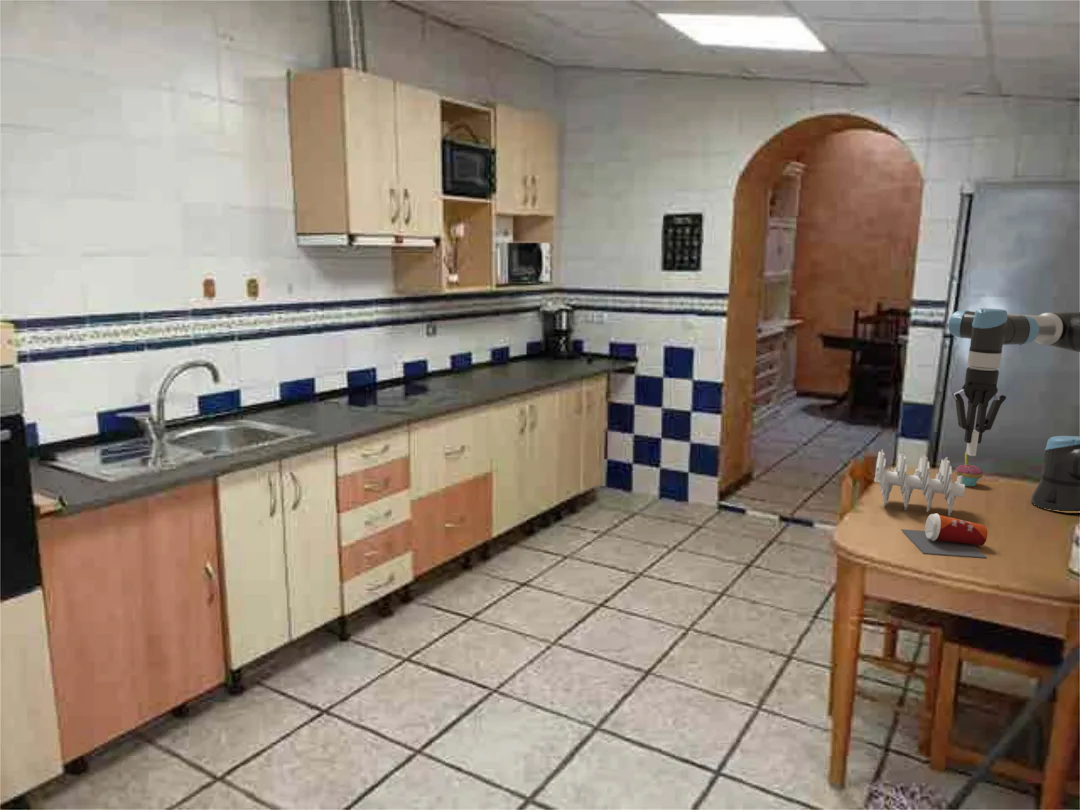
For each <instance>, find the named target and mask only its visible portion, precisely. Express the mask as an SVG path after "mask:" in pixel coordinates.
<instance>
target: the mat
mask: <svg viewBox="0 0 1080 810" xmlns="http://www.w3.org/2000/svg"><path fill="white" fill-rule="evenodd" d="M901 530H902V531H903V532H902V531H901ZM900 531H901V532H902V533H903V534H904V535H905V536H906V538H908V539H909V540H910V542H912V544H913V545H914V544H915V545H916V546H915V547H916V548H917V549H918V550H919V551H920V552H921V553H922V554H923V555H933V556H934V555H935V556H947V557H948V556H949V557H950V556H951V557H960V558H961V557H963V558H964V557H965V558H975V559H976V558H979V559H987V556H986V554H984V553H983V552H982V551H980V550H979V549H978V548H977V547H976V545H971V544H963V543H954V542H946V541H938V540H935V541H932V540H931V539H928V538H927V537H926V534H925V530H918V529H902V528H901V529H900Z"/></svg>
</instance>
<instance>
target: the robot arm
mask: <svg viewBox="0 0 1080 810" xmlns="http://www.w3.org/2000/svg"><path fill="white" fill-rule="evenodd" d="M947 327H948V331H949V333H950V335H951V336H953V337H957V338H961V339H970V345H969V349H968V350H969V351H968V357H967V366H968V367H967V368H966V371H965V376H964V377H965V378H964V384H963V386H962V389H961V390H959V391H953V392H952V394H951V395H952V396H953V399H954V401H955V407H956V416H957V424H958V427H959V428H961V429H963V430H965V431H964V438H963V439H964V442H965V443H966V450H965V451H966V454H967V456H970V457H976V456H977V449H978V444H981V443H982V438H983V433H985V432H986V431H990V430H992V427H993V425H994V422H995V420H996V417H997V415H998V413H999V411H1000V408H1001V405H1002V404H1003V403H1004V402H1005V401H1006V399H1007V396H1006V395H1004V394H1002V393H1000V392H999V389H998V387H997V386H998V383H999V382H998V380H999V374H1000V372H999V370H998V369H999V368H1000V366H1001V360H1002V355H1003V354H1002V353H1003V346H1005V345H1009V346H1011V345H1019V346H1022V345H1027V344H1030V343H1032V342H1035V343H1036V344H1039V345H1041V346H1050V347H1055V348H1058V349H1059V348H1060V349H1063V350H1068V351H1072V352H1079V353H1080V311H1069V312H1068V311H1066V312H1044V313H1041V314H1038V315H1037V314H1035V315H1034V314H1020V313H1008V312H1007V310H1005V309H1002V308H985V307H983V308H978V309H976V310H975V311H969V310H957V311H955V312H954V313H952V314H951V315H950V317H949V319H948V325H947ZM965 397H966V399H967V405H968V406H967V410H966V408H965V401H964V398H965ZM992 399H993V400H992ZM991 400H992V401H991ZM990 401H991V404H990V407H989V403H990ZM988 407H989V409H988ZM987 410H988V411H987ZM966 411H967V412H966ZM1031 502H1032V503H1033V504H1035V505H1036V506H1035V505H1034V506H1035V507H1037V506H1039V507H1042V508H1046V509H1051V510H1059V511H1080V435H1079V436H1076V435H1057V436H1052V437H1050V438H1048V440H1047V442H1046V447H1045V449H1044V459H1043V464H1042V470H1041V478H1040V481H1039V483H1038V484H1037V486H1036V488H1035V489H1034V491H1033V493H1032V495H1031V500H1030V503H1031ZM1032 503H1031V504H1032ZM1033 504H1032V505H1033ZM1039 507H1038V508H1039ZM1042 508H1041V509H1042Z"/></svg>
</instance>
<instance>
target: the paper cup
mask: <svg viewBox="0 0 1080 810" xmlns="http://www.w3.org/2000/svg"><path fill="white" fill-rule="evenodd" d="M924 531H925V534H926V537H927V538H928V539H931V540H932V541H935V540H938V541H946V542H954V543H963V544H971V545H973V546H984V545H985V544H986V542H987V539H988V527H986V525H984V524H980V523H976V522H972V521H968V520H962V519H958V518H955V517H951V516H945V515H941V514H939V513H931V514H929V515H928V517H927V519H926V521H925V526H924Z"/></svg>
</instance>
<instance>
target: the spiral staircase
mask: <svg viewBox="0 0 1080 810" xmlns="http://www.w3.org/2000/svg"><path fill="white" fill-rule="evenodd" d="M885 455H886V454H885V452H884V449H883V448H881V451H878V454H877V459H876V465H875V475H874V482H875V483H879V485H878V486H879V487H880V488H879V490H881V496H882V502H883V503H882V504H883V506H882V507H886V505H887V503H888V502H889V499H890V494H891V493H892V490H893V486H897V487H899V490H900V494H902V501H903V508H904V509H903V511H906V510H907V509H908V508H909V506H908V505H909V504H910V500H911V496H912V494H913V491H914V489H915V490H920V491H923V492H922V495H923V496H924V498H925V499H926V511H925V512H926V513H928V512H929V510H930V509H931V506H932V502H933V499H934V496H935V493H936V494H937V493H938V494H941V495H942V494H943V495H944V499H945V501H946V503H947V506H948V511H947V517H951V514H952V512H953V508H954V504H955V503H954V502H955V500H956V497H959V498H963V497H964V495H965V490H966V489H965V488H966V486H965V484H962V480H963V476H962V475H961V476H958V475H957V476H956V477H957V478H956V481H954V482H953V476H952V471H953V470H952V469H953V468H952V465H951V461H950V460H948V459H949V458H948V456H945V458H944V459H941V461H940V465H939V468H938V473H936V474H935V478H931V471H930V461H929V458H928V457H927V456H926V453H923V455H922V457H919V461H918V465H917V468H915V471H914V474H913V475H912V474H907V470H908V469H907V468H908V462H906V460H907V458H906V455H905V452H902V453H899V455H898V460H897V466H896V467H894V468H893V471H890V470H887V469H886V462H887V457H885Z"/></svg>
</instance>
